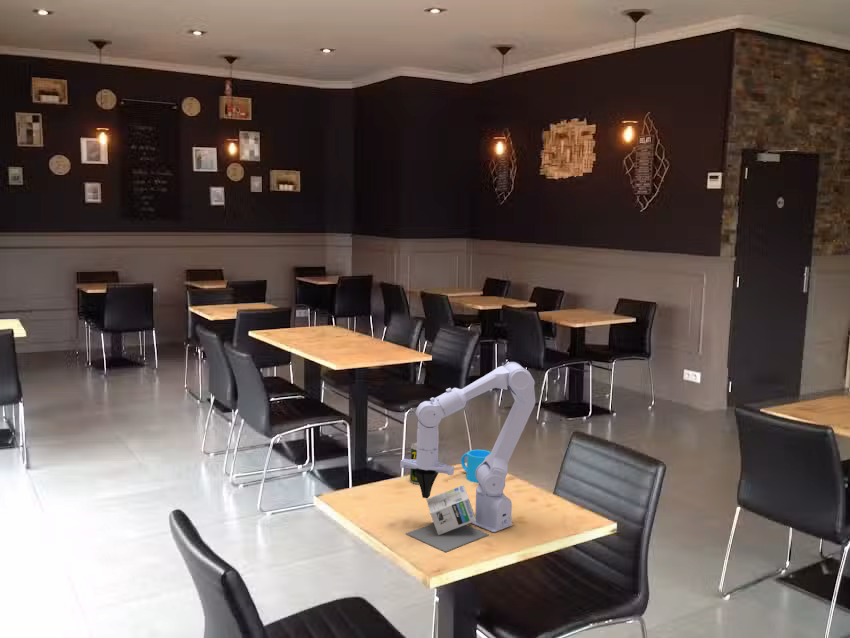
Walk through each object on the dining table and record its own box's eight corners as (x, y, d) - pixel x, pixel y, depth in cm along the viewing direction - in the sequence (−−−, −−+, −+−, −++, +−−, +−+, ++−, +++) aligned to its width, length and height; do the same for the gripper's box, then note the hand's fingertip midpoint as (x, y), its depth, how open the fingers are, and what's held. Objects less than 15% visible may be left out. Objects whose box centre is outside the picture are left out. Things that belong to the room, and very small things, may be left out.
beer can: (410, 478, 248) (411, 441, 246) (427, 479, 248) (428, 442, 246) (409, 484, 243) (410, 446, 241) (427, 485, 243) (428, 447, 241)
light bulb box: (438, 536, 204) (477, 521, 205) (429, 513, 203) (468, 498, 203) (433, 520, 215) (471, 506, 215) (425, 497, 214) (463, 483, 214)
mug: (497, 479, 250) (498, 454, 249) (480, 484, 244) (481, 459, 243) (469, 469, 258) (470, 445, 257) (452, 474, 253) (453, 450, 252)
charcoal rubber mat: (488, 535, 206) (488, 534, 206) (445, 552, 195) (445, 551, 195) (449, 518, 216) (449, 517, 216) (405, 534, 205) (405, 533, 205)
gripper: (458, 446, 210) (456, 496, 212) (408, 439, 215) (406, 487, 217) (449, 454, 203) (447, 505, 205) (397, 446, 209) (396, 496, 210)
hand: (426, 496), depth 211 cm, fingers closed
